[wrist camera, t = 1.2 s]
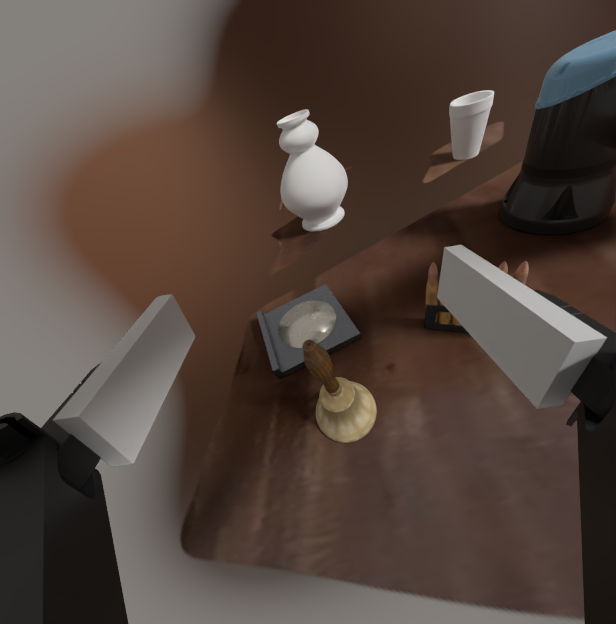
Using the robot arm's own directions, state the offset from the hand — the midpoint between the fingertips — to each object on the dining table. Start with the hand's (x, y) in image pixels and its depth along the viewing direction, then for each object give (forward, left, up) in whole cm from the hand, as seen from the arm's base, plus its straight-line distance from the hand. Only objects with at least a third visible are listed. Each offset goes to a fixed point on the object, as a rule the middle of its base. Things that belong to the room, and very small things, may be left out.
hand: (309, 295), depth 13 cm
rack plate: (+1, -23, -26) cm, 35 cm away
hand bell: (+1, -6, -26) cm, 27 cm away
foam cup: (-61, -56, -26) cm, 87 cm away
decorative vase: (-17, -59, -26) cm, 67 cm away
